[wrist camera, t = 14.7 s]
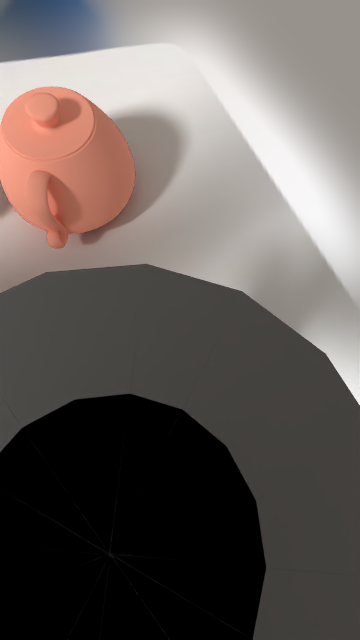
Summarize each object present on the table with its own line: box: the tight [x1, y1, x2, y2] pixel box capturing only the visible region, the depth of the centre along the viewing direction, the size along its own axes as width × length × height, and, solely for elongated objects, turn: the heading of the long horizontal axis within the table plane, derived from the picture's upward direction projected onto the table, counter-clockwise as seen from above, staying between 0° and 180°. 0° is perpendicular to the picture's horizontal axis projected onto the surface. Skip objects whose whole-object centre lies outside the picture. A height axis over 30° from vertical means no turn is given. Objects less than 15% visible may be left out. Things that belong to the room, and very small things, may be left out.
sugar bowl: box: [0, 87, 135, 249], centre depth 29 cm, size 12×14×10 cm
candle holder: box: [0, 264, 360, 640], centre depth 15 cm, size 6×6×25 cm
